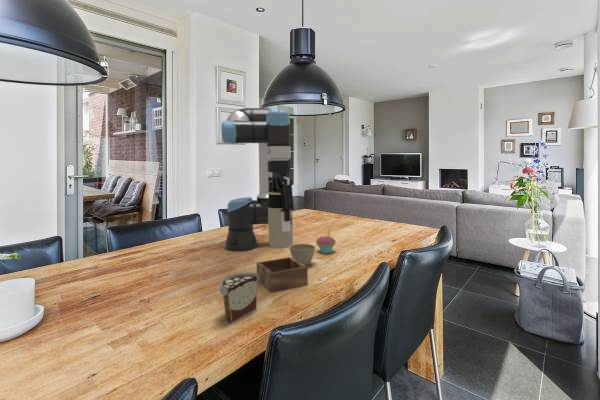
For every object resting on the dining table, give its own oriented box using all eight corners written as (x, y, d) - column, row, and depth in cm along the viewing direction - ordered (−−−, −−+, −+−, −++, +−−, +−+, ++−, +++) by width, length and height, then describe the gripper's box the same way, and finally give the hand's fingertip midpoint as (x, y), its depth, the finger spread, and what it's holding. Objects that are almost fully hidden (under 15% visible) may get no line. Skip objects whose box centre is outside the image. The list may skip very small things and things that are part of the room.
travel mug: (264, 247, 108) (263, 192, 106) (275, 241, 116) (274, 190, 114) (286, 249, 105) (285, 193, 103) (296, 243, 113) (295, 191, 111)
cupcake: (337, 250, 150) (337, 224, 148) (332, 255, 142) (332, 228, 140) (319, 248, 153) (318, 223, 151) (313, 253, 145) (313, 227, 143)
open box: (257, 279, 115) (256, 262, 114) (290, 272, 121) (290, 256, 120) (271, 292, 104) (271, 273, 103) (307, 284, 110) (307, 267, 109)
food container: (244, 302, 97) (243, 269, 95) (260, 307, 93) (259, 273, 92) (211, 319, 86) (209, 282, 85) (227, 326, 83) (225, 287, 82)
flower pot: (313, 269, 125) (312, 250, 124) (287, 267, 127) (287, 249, 126) (317, 261, 134) (316, 243, 134) (293, 259, 136) (292, 243, 136)
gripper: (257, 160, 115) (259, 224, 117) (281, 159, 96) (283, 236, 99) (276, 160, 118) (278, 222, 121) (304, 159, 100) (305, 233, 102)
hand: (280, 228), depth 110 cm, fingers closed on travel mug, 8 cm apart
